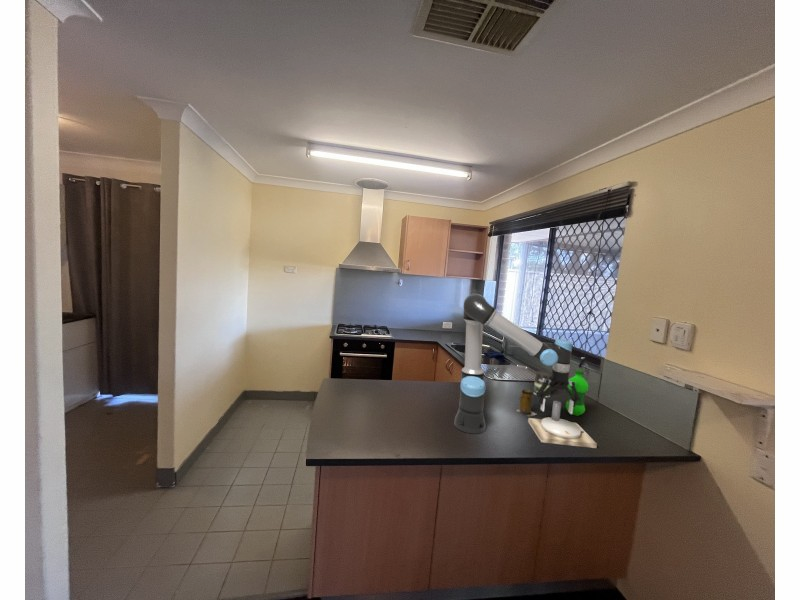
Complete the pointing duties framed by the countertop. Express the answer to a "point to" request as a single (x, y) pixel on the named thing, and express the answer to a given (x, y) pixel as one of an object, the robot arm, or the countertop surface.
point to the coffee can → (541, 380)
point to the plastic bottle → (581, 388)
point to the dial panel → (549, 438)
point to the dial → (560, 424)
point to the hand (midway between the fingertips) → (556, 411)
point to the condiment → (526, 403)
